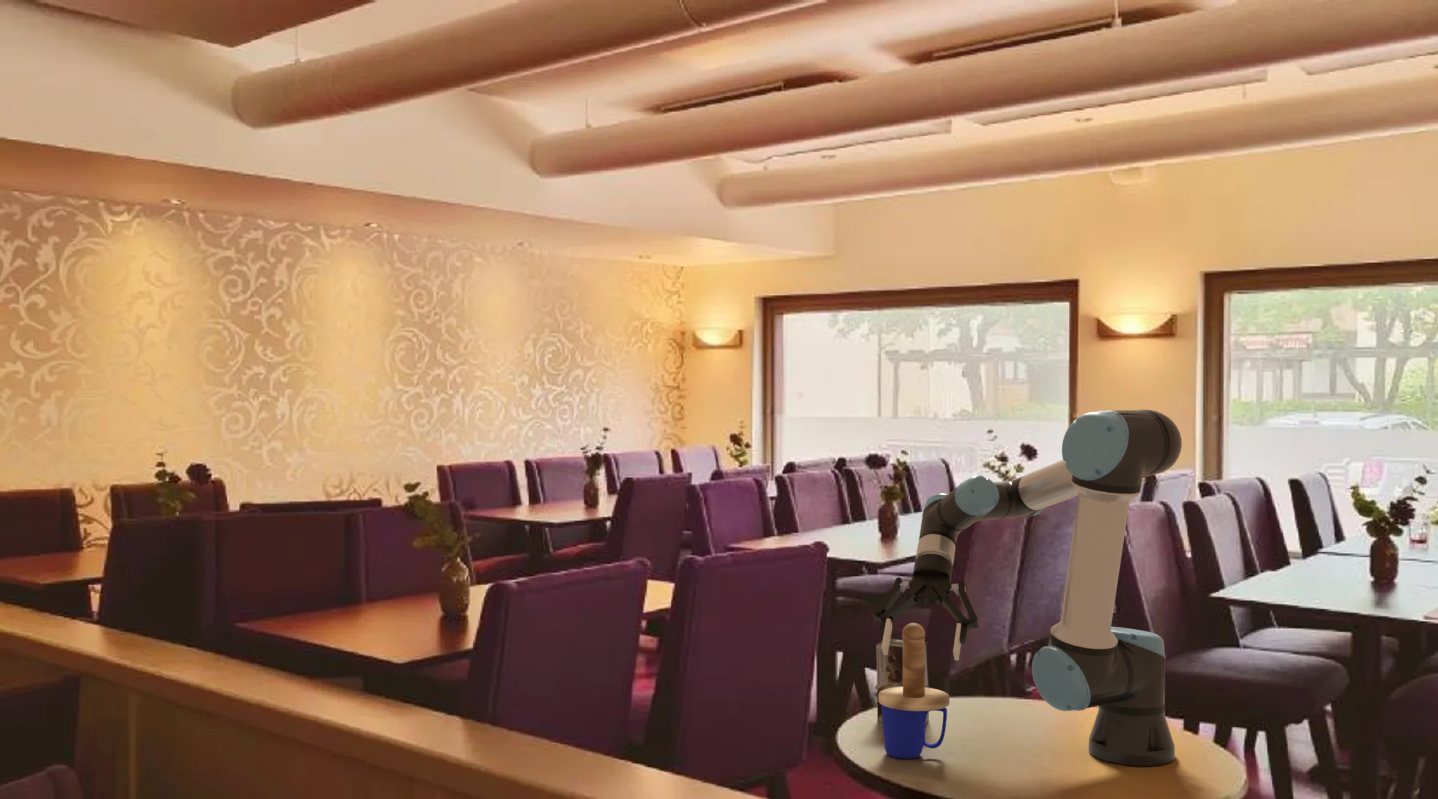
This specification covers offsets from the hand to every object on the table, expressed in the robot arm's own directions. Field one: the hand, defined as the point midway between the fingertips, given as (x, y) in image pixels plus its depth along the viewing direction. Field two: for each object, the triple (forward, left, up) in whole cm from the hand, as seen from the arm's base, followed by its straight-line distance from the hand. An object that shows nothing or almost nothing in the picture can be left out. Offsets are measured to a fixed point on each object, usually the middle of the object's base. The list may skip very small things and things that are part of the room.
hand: (919, 654), depth 233 cm
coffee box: (+8, -15, -18) cm, 25 cm away
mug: (-1, +6, -18) cm, 19 cm away
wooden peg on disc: (-1, +6, -8) cm, 10 cm away
